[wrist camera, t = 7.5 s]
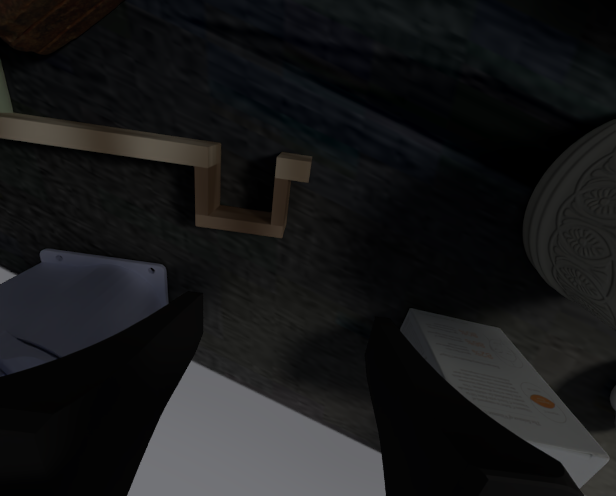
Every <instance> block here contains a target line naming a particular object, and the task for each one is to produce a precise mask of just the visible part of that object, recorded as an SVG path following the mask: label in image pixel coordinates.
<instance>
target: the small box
mask: <svg viewBox="0 0 616 496" xmlns="http://www.w3.org/2000/svg"><path fill="white" fill-rule="evenodd" d="M400 331H401V332H402V334H403V335H404V336H405V337H406V338H407V340H408V341H409V342H410V343H411V344H412V345H413V347H414V348H415V349H416V350H417V351H418V352H419V353H420V354H421V356H422V357H423V358H424V359H425V360H426V361H427V362H428V363H429V364H430V365H431V366H432V367H433V368H434V369H435V370H436V371H437V372H438V373H439V374H440V375H441V376H442V377H443V378H444V379H445V380H446V381H447V382H448V383H449V384H450V385H452V386H453V387H454V388H455V389H456V390H457V391H458V392H459V393H461V394H462V395H463V396H464V397H465V398H467V399H468V400H469V401H470V402H472V403H473V404H474V405H475V406H477V407H478V408H479V409H481V410H482V411H483V412H484V413H486V414H487V415H488V416H490V417H491V418H493V419H494V420H495V421H497V422H498V423H500V424H501V425H502V426H504V427H505V428H507V429H508V430H510V431H511V432H513V433H514V434H516V435H517V436H519V437H520V438H522V439H523V440H525V441H527V442H528V443H530V444H532V445H533V446H535V447H537V448H538V449H540V450H542V451H543V452H545V453H546V454H548V455H550V456H551V457H553V458H555V459H556V460H558V461H560V462H561V463H562V465H563V466H564V467H565V469H566V470H567V472H568V473H569V475H570V476H571V478H572V479H573V481H574V482H575V483H576V485H577V486H578V488H581V487H582V486H583V485H584V484H585V483H586V482H587V481H588V480H589V479H590V478H591V477H592V476H593V475H594V474H596V473H597V472H598V471H599V470H600V469H601V468H602V467H603V466H604V465H605V464H606V463H607V462H608V461H609V456H608V454H607V453H606V452H605V451H604V449H603V448H602V447H601V446H600V445H599V444H598V442H597V441H596V440H595V439H594V438H593V437H592V435H591V434H590V433H589V432H588V431H587V430H586V428H585V427H584V426H583V425H582V424H581V423H580V421H579V420H578V419H577V418H576V417H575V416H574V414H573V413H572V412H571V411H570V410H569V409H568V407H567V406H566V405H565V404H564V403H563V402H562V400H561V399H560V398H559V397H558V396H557V394H556V393H555V392H554V391H553V390H552V389H551V387H550V386H549V385H548V384H547V383H546V382H545V381H544V379H543V378H542V377H541V376H540V375H539V373H538V372H537V371H536V370H535V369H534V368H533V366H532V365H531V364H530V363H529V362H528V361H527V360H526V358H525V357H524V356H523V355H522V354H521V353H520V351H519V350H518V349H517V348H516V347H515V346H514V344H513V343H512V342H511V341H510V340H509V339H508V337H507V336H506V335H505V334H504V333H503V332H502V330H501V329H500V328H497V327H493V326H488V325H484V324H479V323H475V322H470V321H466V320H461V319H457V318H453V317H448V316H444V315H440V314H435V313H430V312H426V311H422V310H417V309H413V308H410V309H409V311H408V313H407V315H406V318H405V320H404V322H403V324H402V326H401V328H400Z"/></svg>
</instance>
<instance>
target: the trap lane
mask: <svg viewBox="0 0 616 496" xmlns="http://www.w3.org/2000/svg"><path fill="white" fill-rule="evenodd" d="M0 138H3V139H10V140H17V141H24V142H31V143H38V144H45V145H52V146H59V147H66V148H72V149H79V150H86V151H93V152H100V153H107V154H114V155H121V156H128V157H135V158H142V159H149V160H155V161H162V162H169V163H176V164H183V165H190V166H195V221H196V226H199V227H206V228H213V229H221V230H228V231H235V232H242V233H249V234H256V235H263V236H270V237H277V238H282V236H283V233H284V230H285V227H286V220H287V211H288V202H289V194H290V185H291V180H294V181H301V182H308V181H309V175H310V168H311V161H312V156H305V155H298V154H292V153H285V152H281V153H280V154H279V155H278V156H277V161H276V172H275V183H274V194H273V205H272V212H265V211H258V210H251V209H244V208H237V207H230V206H223V205H220V174H221V143H216V142H210V141H203V140H196V139H189V138H182V137H176V136H169V135H162V134H155V133H148V132H141V131H135V130H128V129H121V128H114V127H107V126H100V125H94V124H87V123H80V122H73V121H66V120H59V119H53V118H46V117H39V116H32V115H25V114H19V113H13V109H12V105H11V101H10V96H9V92H8V88H7V84H6V80H5V76H4V72H3V67H2V63H1V59H0Z"/></svg>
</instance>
